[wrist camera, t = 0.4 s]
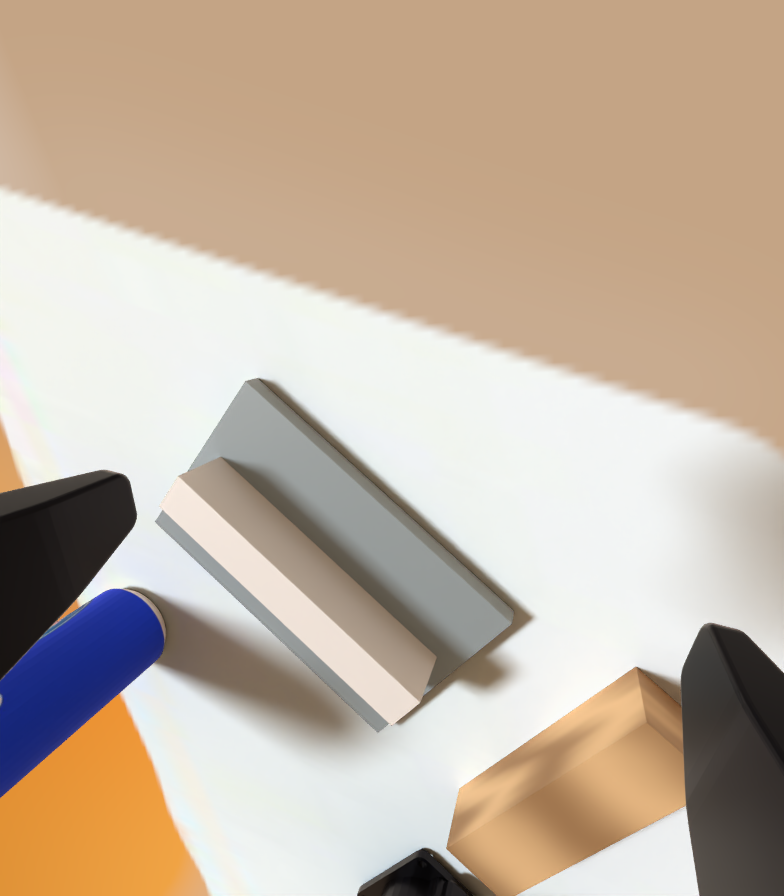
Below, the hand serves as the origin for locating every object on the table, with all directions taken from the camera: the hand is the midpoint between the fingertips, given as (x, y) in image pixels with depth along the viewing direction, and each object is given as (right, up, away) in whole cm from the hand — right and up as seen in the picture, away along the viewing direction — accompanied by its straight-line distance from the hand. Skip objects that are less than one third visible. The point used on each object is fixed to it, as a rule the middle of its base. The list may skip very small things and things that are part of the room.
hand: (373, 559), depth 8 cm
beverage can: (-15, -9, +24) cm, 30 cm away
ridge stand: (-3, -4, +18) cm, 19 cm away
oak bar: (+9, -13, +17) cm, 23 cm away
